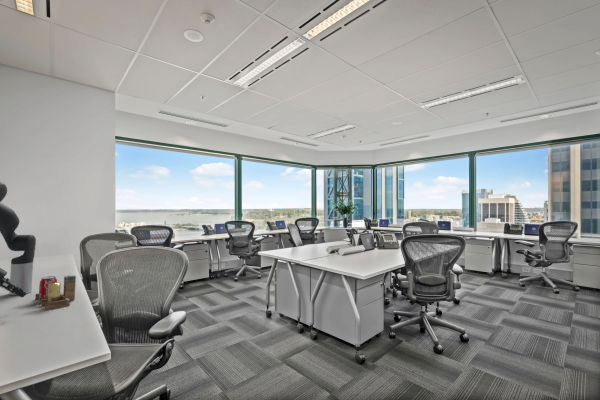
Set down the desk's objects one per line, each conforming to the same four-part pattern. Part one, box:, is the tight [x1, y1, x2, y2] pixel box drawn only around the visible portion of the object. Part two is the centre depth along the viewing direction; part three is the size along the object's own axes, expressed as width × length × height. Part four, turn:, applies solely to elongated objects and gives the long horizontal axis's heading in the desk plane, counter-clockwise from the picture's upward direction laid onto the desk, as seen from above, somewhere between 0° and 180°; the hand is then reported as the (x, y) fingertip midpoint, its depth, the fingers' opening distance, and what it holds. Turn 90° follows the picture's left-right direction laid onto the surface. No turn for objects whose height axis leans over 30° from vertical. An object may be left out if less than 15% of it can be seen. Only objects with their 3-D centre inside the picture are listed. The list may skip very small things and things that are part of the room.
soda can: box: [38, 275, 58, 298], centre depth 152 cm, size 7×7×12 cm
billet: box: [48, 282, 62, 303], centre depth 142 cm, size 5×5×11 cm
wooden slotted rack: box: [34, 274, 77, 311], centre depth 149 cm, size 25×13×12 cm, turn 51°
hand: (22, 294), depth 134 cm, fingers open, 8 cm apart
